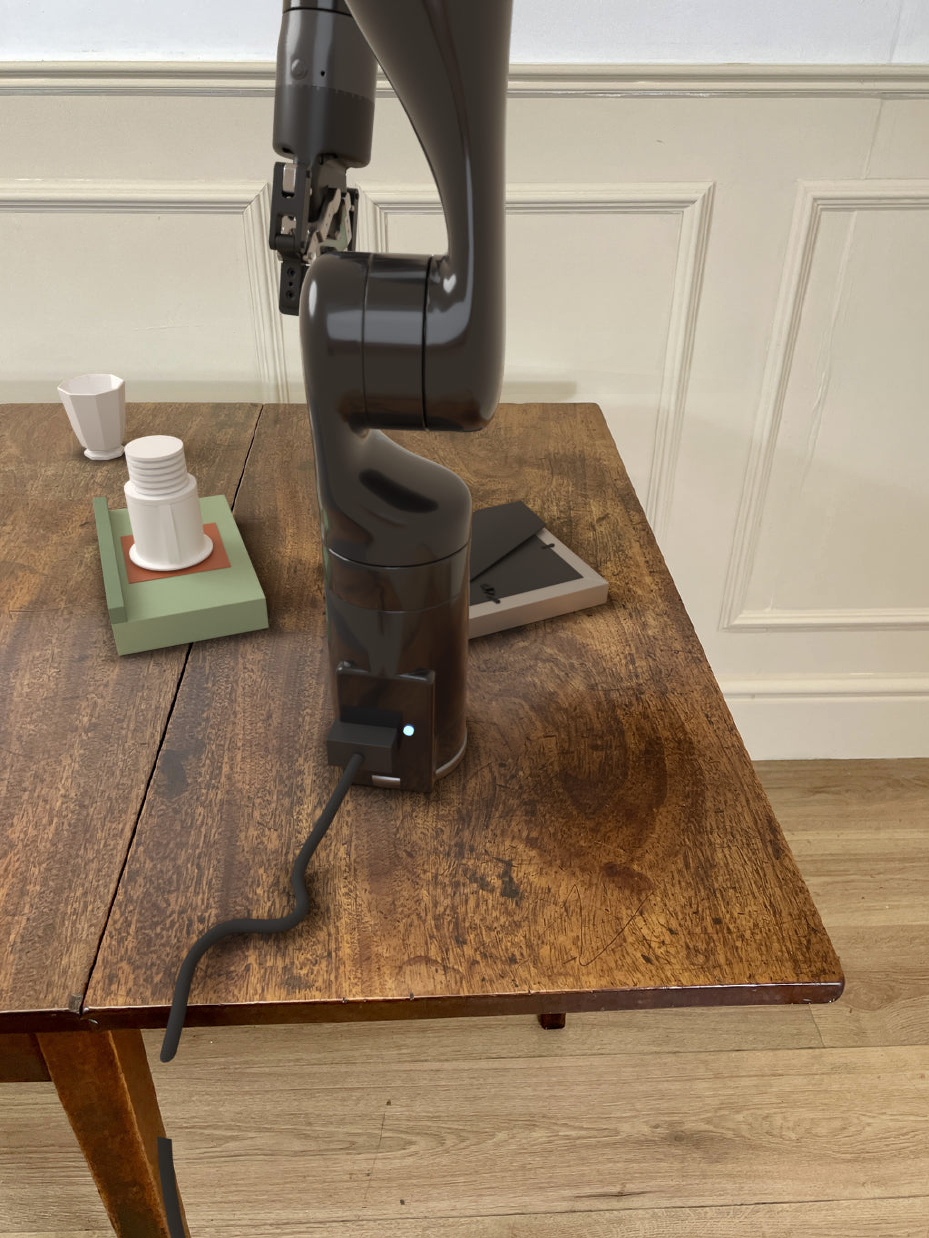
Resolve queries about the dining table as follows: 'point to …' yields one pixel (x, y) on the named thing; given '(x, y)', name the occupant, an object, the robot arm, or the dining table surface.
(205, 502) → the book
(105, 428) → the cup
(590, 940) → the dining table surface
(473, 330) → the robot arm
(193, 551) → the downlight
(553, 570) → the picture frame
